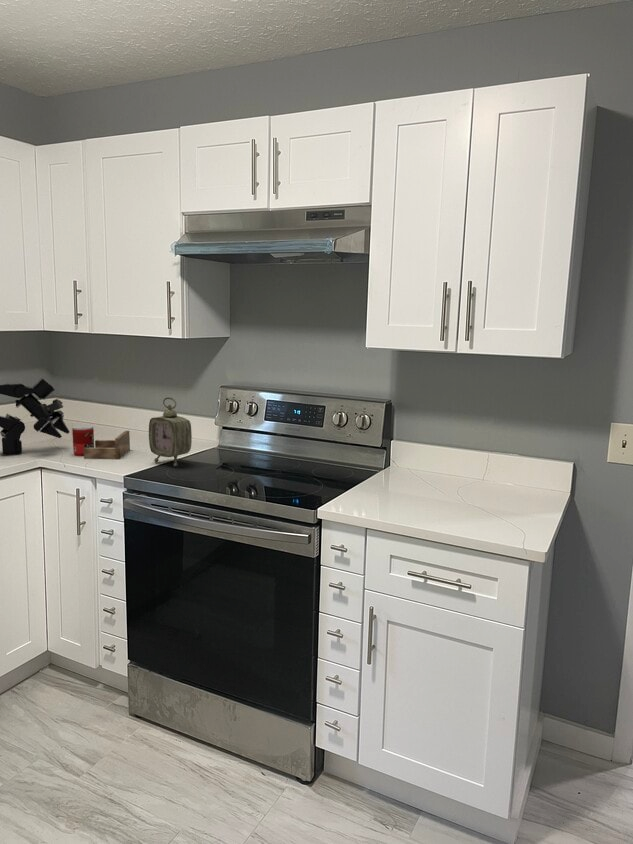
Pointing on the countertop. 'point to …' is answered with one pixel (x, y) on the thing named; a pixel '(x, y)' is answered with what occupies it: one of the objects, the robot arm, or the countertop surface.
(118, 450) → the cradle
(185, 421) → the tabletop clock
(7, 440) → the robot arm
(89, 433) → the canned food
